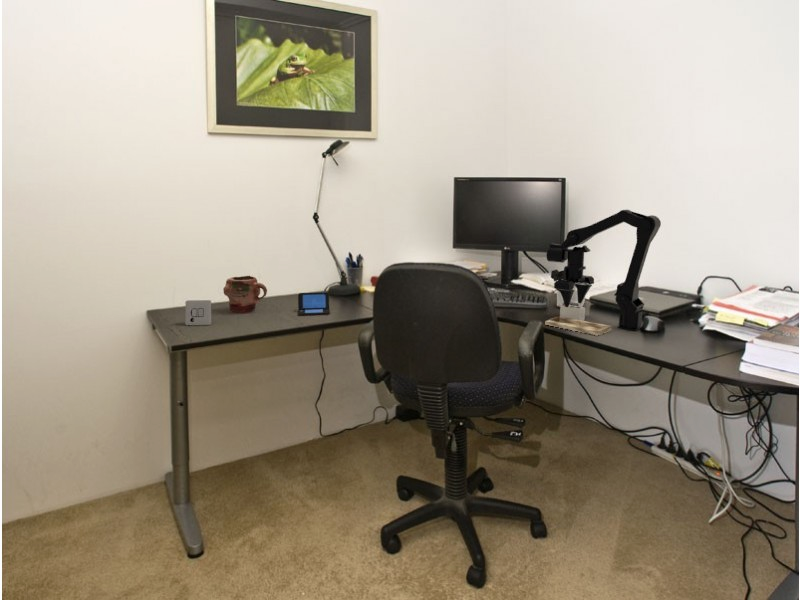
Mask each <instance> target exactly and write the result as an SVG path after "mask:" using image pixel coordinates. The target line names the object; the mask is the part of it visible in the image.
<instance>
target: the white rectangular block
mask: <svg viewBox="0 0 800 600" xmlns="http://www.w3.org/2000/svg"><path fill="white" fill-rule="evenodd" d="M559 308H560V309H559V310H560V311H559V317H566V318H571V319H576V320H582V321H586V307H584V306H583V307H579V306H578V305H573V304H572V305H571V304H569V306H568V307H565V304H563V305H562V306H560V307H559Z"/></svg>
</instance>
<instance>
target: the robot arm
mask: <svg viewBox="0 0 800 600" xmlns="http://www.w3.org/2000/svg"><path fill="white" fill-rule="evenodd" d="M623 223H624V224H625V223H626V224H628V225H629V226H631V227H634V228H636V232H635V233H636V234H635V235H636V243H635V247H634V250H633V254H632V256H631V260H630V264H629V267H628V270H627V273H626V277H625V280H624V281H623V282H621V283H618V284H617V285H616V292H615V294H613V296H615V302H616V303H617V305H618V307H619V309H620V313H619V314H618V315H619V317H618V318H619V319H618V326H617V328H619V329H624V330H630V331H635V332H636V331H639V330H640V328H641V326H642V322H643V321H642V320H643V311H642V310H643V309H644V306H645V303H644V302H643V300H641V299H640V298H639V292H640V284H639V282H640V278H641V275H642V273H643V272H642V271H643V268H644V265H645V262H646V259H647V255H648V252H649V249H650V246H651V243H652V242H653V240H654V239H655V237H656V236H657V234H658V232H659V230H660V228H661V226H662V225H661V224H662V222H661V220H660V218H659V217H658V216H656V215H653V214H652V215H645V214H641V213H639V212H635V211H632V210H630V209H622V210H619V212H616V213H614V214H612V215H610V216H608V217H605V218H604V219H601V220H599V221H597V222H595V223H592V224H591V225H588V226H584V227H579V228H576V229H571V230H570V231H568V232H567V234H566V237H565V240H564V241H563V242H562V243H561V244H558V243H549V247H548V249H547V252H546V260H547V262H550V263H562V264H563V263H565V262H566V261H567V262H566V264H567V265H565V266H564V268H563V270H560V271H559V270H558V269H554V270H551V271H550V278H551V279H553V282H554V283H553V288H554V289H556V291H557V290H558V291H559V292H560V293H561V295H562V297H563V301H564V303H563V305H565V307H568V306H569V305H571V303H570V301H571V298H572V295H573V292H574V290H572V289H573V288H574V285H575V286H576V288H577V295H578V303H582V301H583V299H584V297H585V298H586V295H587V294H588V292H589V291H590V288H591V287H593V284H595V278H594V277H593V275H586V274H585V275H584V270H586V269H587V268H586V265H584V262H585V253H588V252H591V249H590V248H589V247H588V246H587V245H586V244H585V243H586V242H588V241H590V240H591V239H592V238H594V236H597V235H598V234H600V233H603V232H605V231H607V230H610V229H612V228H614V227H615V226H618V225H620V224H621V225H622V224H623ZM583 244H585V245H583ZM580 245H582V246H580ZM641 329H642V328H641Z"/></svg>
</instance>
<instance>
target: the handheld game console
mask: <svg viewBox="0 0 800 600" xmlns="http://www.w3.org/2000/svg"><path fill="white" fill-rule="evenodd" d="M297 303H298V304H297V308H298V313H297V315H298V317H306V316H307V317H308V316H311V317H312V316H329V315H330V314H331V311H330V294H329V292H300V293H298V294H297Z"/></svg>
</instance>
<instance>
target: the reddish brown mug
mask: <svg viewBox="0 0 800 600" xmlns="http://www.w3.org/2000/svg"><path fill="white" fill-rule="evenodd" d="M222 289H223V294H224V296H226V297H227V298H228V300H229V303H228V306H229V311H230V312H231V313H235V314H248V313H251V312H254V311H255V309H256V304H257V303H259V302H260V301H262V300H263V299H264V298H266V296H267V294H268V293H267V292H268V289H267V287H266V285H265V284H264V283H261V282H258V279H257V278H256V277H255V276H251V275H244V276H243V275H242V276H233V277H230V278H227V279H226V281H225V286H224V287H223V288H222ZM261 289H262V292H263V294H262V296H260V295H261ZM259 296H260V297H259Z"/></svg>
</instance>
